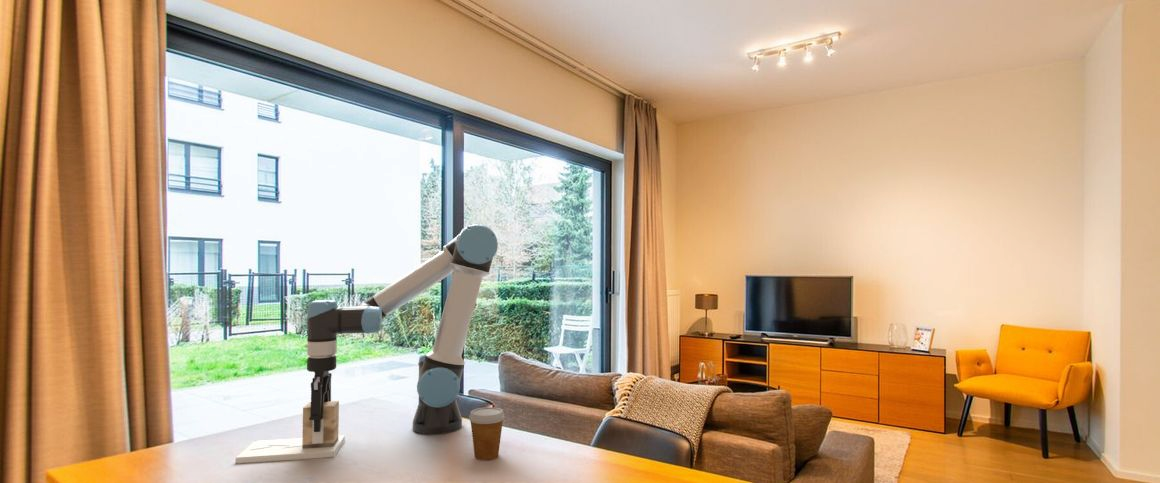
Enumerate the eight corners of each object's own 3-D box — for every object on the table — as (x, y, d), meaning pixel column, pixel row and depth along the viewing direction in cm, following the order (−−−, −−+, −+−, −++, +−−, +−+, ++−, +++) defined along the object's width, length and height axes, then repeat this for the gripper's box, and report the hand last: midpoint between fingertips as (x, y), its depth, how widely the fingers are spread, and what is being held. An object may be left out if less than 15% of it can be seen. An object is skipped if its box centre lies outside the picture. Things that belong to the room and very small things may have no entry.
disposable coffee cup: (510, 452, 156) (510, 408, 157) (494, 464, 147) (494, 417, 148) (479, 448, 159) (479, 405, 160) (461, 460, 150) (462, 414, 151)
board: (344, 440, 167) (344, 435, 167) (334, 456, 153) (334, 451, 153) (254, 446, 162) (254, 440, 162) (235, 463, 148) (235, 457, 148)
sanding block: (338, 439, 163) (338, 400, 163) (333, 446, 157) (334, 406, 157) (308, 441, 161) (308, 402, 161) (302, 448, 155) (303, 407, 155)
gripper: (315, 350, 168) (314, 430, 167) (297, 362, 149) (296, 451, 149) (343, 350, 170) (342, 428, 169) (328, 361, 151) (327, 449, 150)
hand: (320, 439), depth 159 cm, fingers closed on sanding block, 6 cm apart
